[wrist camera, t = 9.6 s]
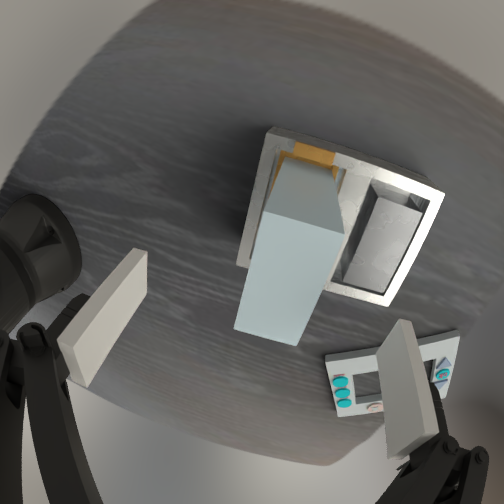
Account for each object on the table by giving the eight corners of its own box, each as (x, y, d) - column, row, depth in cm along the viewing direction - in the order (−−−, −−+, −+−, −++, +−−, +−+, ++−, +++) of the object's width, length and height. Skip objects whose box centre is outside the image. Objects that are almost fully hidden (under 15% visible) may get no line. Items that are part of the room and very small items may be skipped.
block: (263, 238, 29) (233, 329, 19) (285, 156, 24) (263, 210, 14) (304, 250, 29) (296, 345, 18) (331, 169, 24) (345, 234, 14)
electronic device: (461, 338, 31) (445, 399, 37) (456, 326, 33) (443, 388, 39) (325, 364, 37) (338, 419, 43) (325, 351, 38) (338, 408, 45)
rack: (245, 241, 32) (233, 270, 27) (273, 125, 25) (264, 134, 21) (381, 280, 31) (389, 313, 26) (427, 177, 25) (449, 198, 20)
